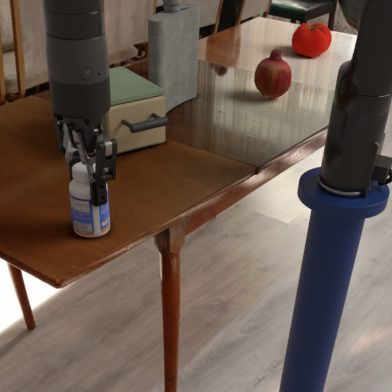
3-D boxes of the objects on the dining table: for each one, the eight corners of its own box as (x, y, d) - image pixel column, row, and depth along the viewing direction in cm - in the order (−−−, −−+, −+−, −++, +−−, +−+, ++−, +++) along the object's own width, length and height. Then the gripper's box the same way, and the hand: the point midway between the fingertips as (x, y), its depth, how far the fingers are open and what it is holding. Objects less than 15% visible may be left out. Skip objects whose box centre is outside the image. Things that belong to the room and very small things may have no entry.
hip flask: (159, 118, 125) (159, 6, 112) (142, 113, 126) (140, 3, 113) (199, 95, 136) (203, -10, 122) (183, 91, 137) (185, -13, 124)
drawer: (178, 149, 112) (179, 105, 107) (123, 163, 107) (121, 118, 102) (127, 116, 123) (126, 75, 118) (75, 127, 117) (71, 85, 112)
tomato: (287, 56, 158) (290, 28, 154) (294, 45, 166) (298, 18, 162) (325, 61, 156) (330, 33, 152) (331, 49, 164) (336, 22, 160)
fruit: (272, 89, 140) (278, 41, 133) (296, 100, 135) (303, 51, 129) (244, 95, 136) (248, 46, 130) (268, 107, 132) (273, 57, 125)
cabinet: (164, 142, 116) (164, 89, 110) (104, 157, 110) (101, 102, 104) (124, 116, 125) (122, 66, 119) (67, 129, 119) (61, 76, 113)
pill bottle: (102, 216, 95) (98, 155, 89) (116, 233, 91) (112, 171, 85) (67, 224, 93) (61, 162, 86) (80, 242, 89) (74, 178, 83)
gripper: (135, 83, 75) (138, 210, 86) (78, 51, 83) (88, 170, 95) (78, 94, 71) (89, 225, 83) (26, 59, 80) (42, 182, 91)
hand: (88, 195), depth 89 cm, fingers closed on pill bottle, 5 cm apart
